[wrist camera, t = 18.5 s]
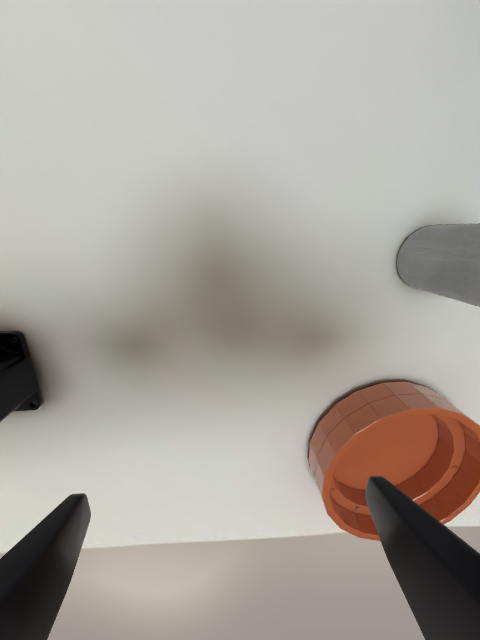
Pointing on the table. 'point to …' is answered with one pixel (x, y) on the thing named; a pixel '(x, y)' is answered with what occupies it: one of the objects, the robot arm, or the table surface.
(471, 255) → the grey hollow cylinder
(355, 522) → the bowl
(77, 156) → the table surface
